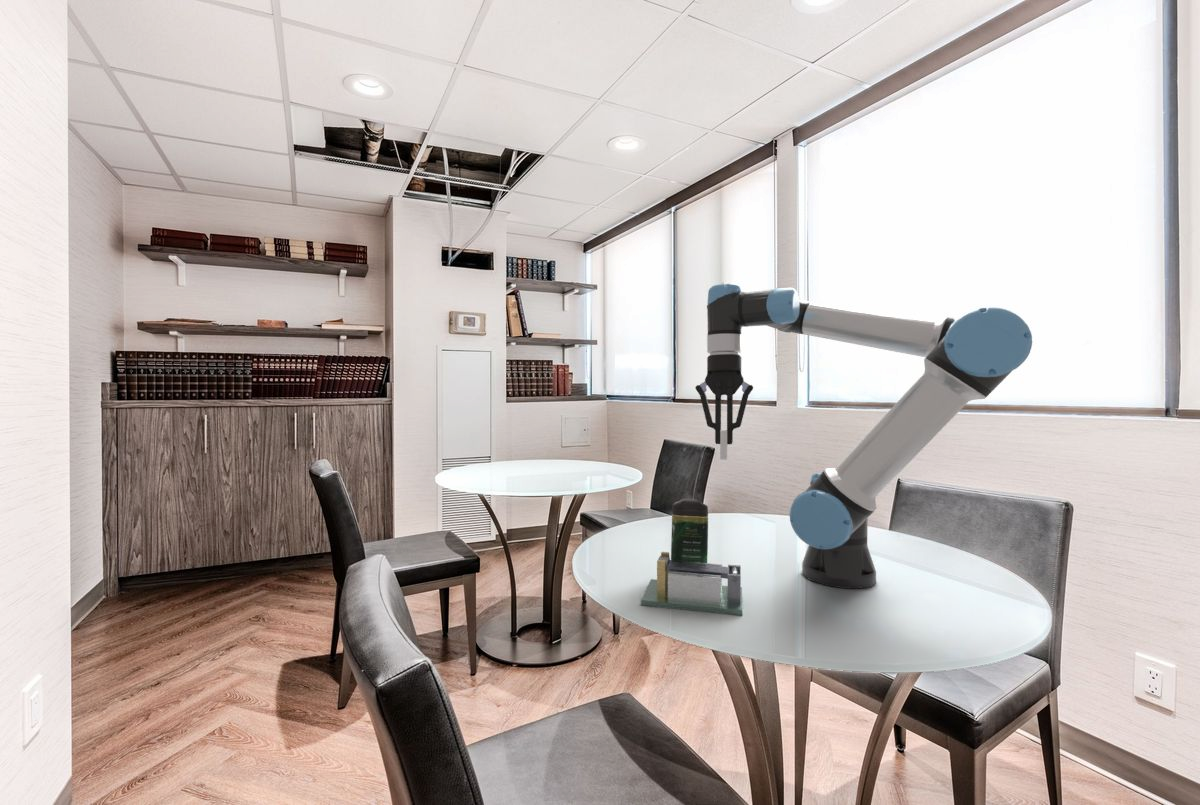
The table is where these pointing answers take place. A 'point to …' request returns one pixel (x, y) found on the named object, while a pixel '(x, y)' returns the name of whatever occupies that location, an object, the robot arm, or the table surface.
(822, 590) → the table surface
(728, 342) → the robot arm
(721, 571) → the grey rectangular bar
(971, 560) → the table surface
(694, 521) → the coffee jar
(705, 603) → the heatsink base
